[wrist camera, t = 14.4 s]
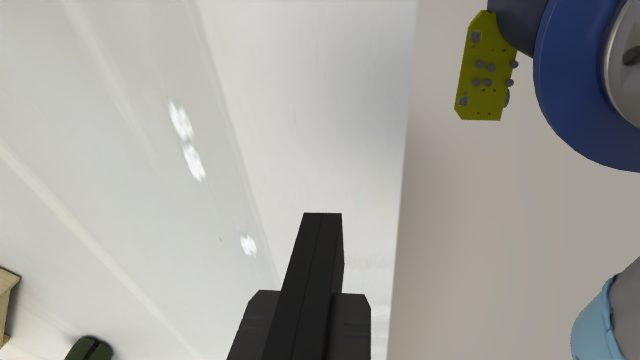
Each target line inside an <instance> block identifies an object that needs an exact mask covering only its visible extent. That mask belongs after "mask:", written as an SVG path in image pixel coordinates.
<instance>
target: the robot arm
mask: <svg viewBox="0 0 640 360" xmlns="http://www.w3.org/2000/svg"><path fill="white" fill-rule="evenodd" d="M596 74H597V81H598V85H599V88H600V91H601V93H602V96H603V98H604V99H605V101H606V103H607V104H608V105H609V107H610V108H611V109H612V110H613V111H614V112H615V113H616V114H617V115H618V116H620V117H621V118H622V119H624V120H625V121H627V122H629V123H630V124H632V125H634V126H635V127H637V128H639V129H640V0H618V1H617V2H616V4H615V6H614V7H613V9H612V11H611V13H610V15H609V17H608V19H607V21H606V24H605V26H604V29H603V31H602V35H601V38H600V41H599V46H598V50H597V58H596ZM343 274H344V249H343V231H342V213H304V214H303V218H302V221H301V224H300V228H299V231H298V235H297V238H296V241H295V245H294V248H293V252H292V255H291V258H290V262H289V265H288V269H287V272H286V275H285V279H284V282H283V285H282V289H281V291H274V290H259V291H258V292H257V293H256V294H255V295H254V296H253V297H252V299H251V300H250V301H249V302H248V305H247V307H246V310H245V313H244V315H243V319H242V320H241V323H240V326H239V330H238V331H237V333H236V336H235V339H234V341H233V344H232V347H231V349H230V352H229V354H228V357H227V360H371V307H370V305H369V303H368V301H367V299H366V297H365V295H364V294H348V293H342V283H343ZM571 352H572V357H573V360H640V257H638V258H637V259H636V260H635V261H634V262H633V263H632V264H630V265H629V266H628V267H627V268H626V269H625V270H624V271H623V272H621V273H618V274H617V275H614V276H613V277H612V278H610V279H609V280H608V281H606V283H605V284H604V286H603V288H602V291H601V292H600V293H599V294H598V295H597V296H596V297H595V298H594V299H593V301H591V302H590V304H588V305H587V307H586V308H584V310H582V311H581V312H580V314H579V315H578V317H577V318H576V320H575V322H574V324H573V328H572V332H571Z"/></svg>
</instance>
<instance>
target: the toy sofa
mask: <svg viewBox="0 0 640 360" xmlns="http://www.w3.org/2000/svg"><path fill="white" fill-rule="evenodd" d="M19 280H20V278H19V277H18V276H15V275H13V274H11V273H9V272H7V271H5V270H3V269H0V349H1V348H2V347H3V346H4V345H5V344H6V343H7V342H8V341H9V340H10V337H8V336H7V335H4V327H5V321H6V314H7V307H8V301H9V296H10V290H11V288H12V287H13V286H14V285H16V284H17V283H18V282H19Z"/></svg>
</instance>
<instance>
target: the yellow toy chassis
mask: <svg viewBox="0 0 640 360" xmlns="http://www.w3.org/2000/svg"><path fill="white" fill-rule="evenodd" d="M496 22H497V21H496V13H488V12H487V10H481V11H480V12H479V13H478V14H477V15H476V16H475V18H474V19H473V20H472V21H471V23H470V25H469V27H468V30H467V36H466V41H465V47H464V54H463V59H462V64H461V70H460V76H459V82H458V87H457V93H456V99H455V105H454V110H455V111H456V112H457V114H458V115H459V117H460V118H461V119H462V120H489V121H500V119H501V115H502V111H503V108H506V107H507V105H508V103H509V99H510V91H509V89H508V87H511V86H513V84H514V81H513V80H512V79H511V75H512V71H513V69H515V68H517V67H518V65H519V63H518V62H517V61H516V60H515V59H516V55H517V51H518V50H516V49H514V48H513V47H511V46H510V45H509V44H508V43H507V42H506V41H505V40H504V39H503V37H502V36H501V34H500V32H499V29H498V26H497V23H496ZM459 105H460V106H459Z"/></svg>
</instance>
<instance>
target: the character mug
mask: <svg viewBox="0 0 640 360" xmlns="http://www.w3.org/2000/svg"><path fill="white" fill-rule="evenodd" d="M94 342H95V340H92V339H87V338H84V339H79V340H78V341H77V342H76V343H75V344H74V345H73V347H72V348H71V350H70V351H69V353H68V354H67V356H66V358H65V359H64V360H111V355H112V354H111V352H110V350H109V349H108V348H107V347H106V346H105V345H103V344H102V343H100V344H99V346H98V347H97V348H96V347H94V346H92V345H93V343H94Z"/></svg>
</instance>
